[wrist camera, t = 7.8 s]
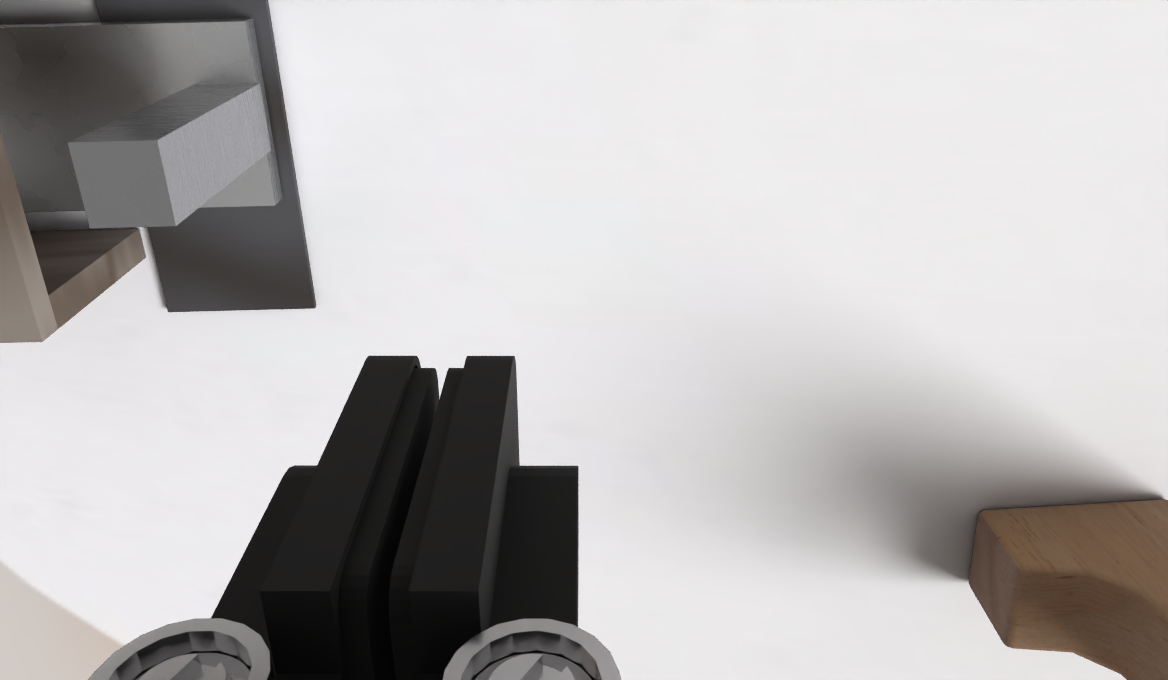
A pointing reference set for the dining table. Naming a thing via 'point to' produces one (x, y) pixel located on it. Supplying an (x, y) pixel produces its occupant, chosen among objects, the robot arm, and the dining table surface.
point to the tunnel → (184, 252)
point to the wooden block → (1079, 581)
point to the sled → (136, 119)
